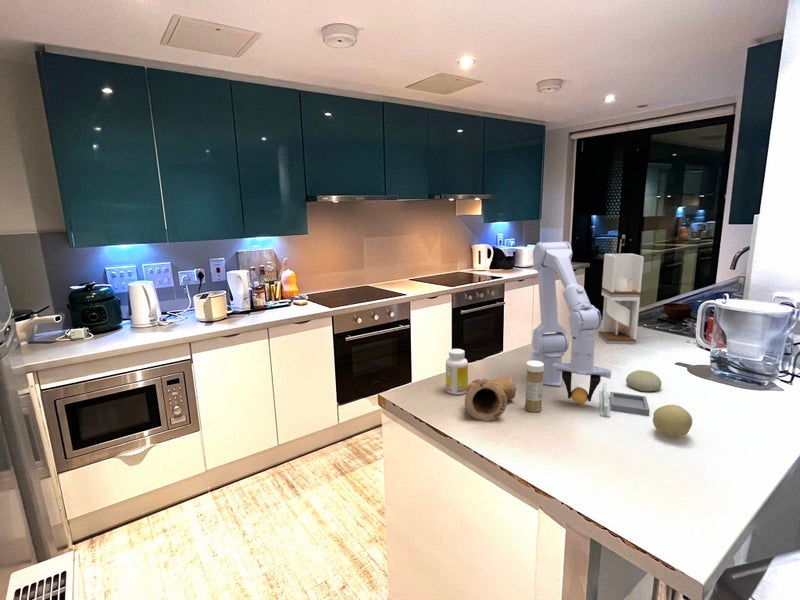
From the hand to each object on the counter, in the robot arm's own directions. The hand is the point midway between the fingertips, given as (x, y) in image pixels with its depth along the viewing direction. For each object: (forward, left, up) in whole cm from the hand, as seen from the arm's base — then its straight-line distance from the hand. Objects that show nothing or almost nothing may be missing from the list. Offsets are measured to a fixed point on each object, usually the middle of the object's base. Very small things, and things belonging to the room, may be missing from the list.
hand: (579, 398), depth 119 cm
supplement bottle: (-34, -3, -2) cm, 35 cm away
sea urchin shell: (+18, +20, -2) cm, 27 cm away
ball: (0, 0, +1) cm, 1 cm away
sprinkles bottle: (-11, -7, -2) cm, 14 cm away
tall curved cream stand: (+13, +69, -2) cm, 70 cm away
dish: (+13, +4, -2) cm, 13 cm away
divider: (+7, +3, -2) cm, 7 cm away
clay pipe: (-22, -11, -2) cm, 25 cm away
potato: (+21, -10, -2) cm, 23 cm away
